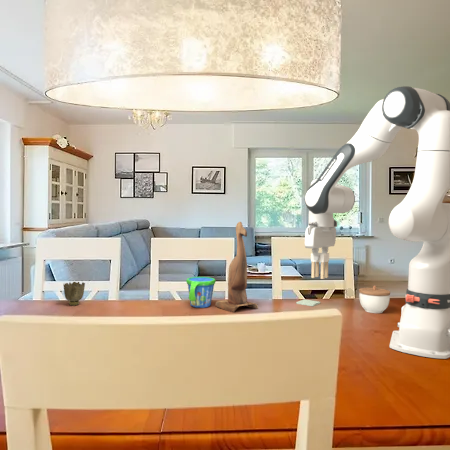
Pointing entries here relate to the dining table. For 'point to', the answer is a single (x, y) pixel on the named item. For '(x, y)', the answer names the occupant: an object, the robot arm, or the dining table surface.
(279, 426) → the dining table surface
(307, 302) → the mat
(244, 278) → the bird sculpture
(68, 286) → the cup
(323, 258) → the stool
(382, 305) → the lidded jar
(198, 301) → the snack cup
